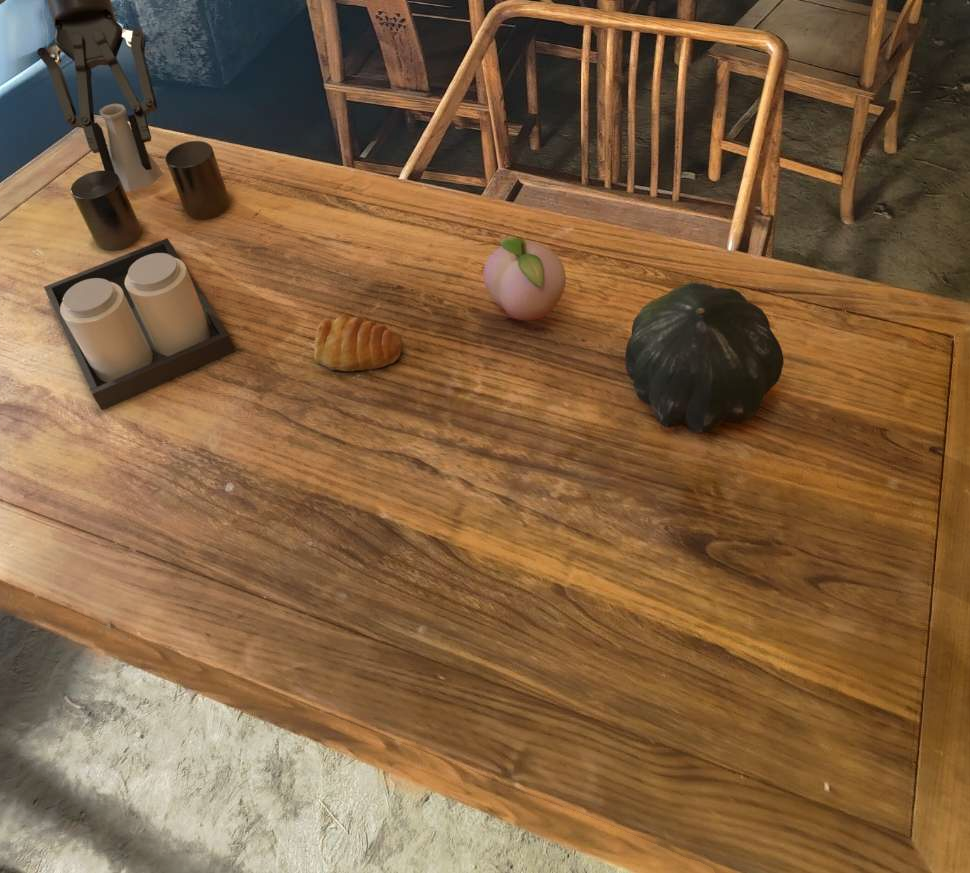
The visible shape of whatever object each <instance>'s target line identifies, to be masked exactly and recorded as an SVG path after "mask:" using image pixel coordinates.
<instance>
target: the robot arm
mask: <svg viewBox="0 0 970 873" xmlns="http://www.w3.org/2000/svg"><path fill="white" fill-rule="evenodd" d="M6 1H7V0H0V5H2V4H3V3H5V2H6ZM46 1H47V4H48V8H49V11H50V15H51V18H52V21H53V25H54V28H55V36H54V43H52V44H51V45H49V46H48V47H46V48H45V47H39V48H38V49H37V51H36V53H37V55H38V57H39V58H40V59H41V61H42V62H43V63H44V65H46V67H47V70H48V73H49V77H50V80H51V82H52V85H53V88H54V92H55V95H56V97H57V100H58V103H59V107H60V109H61V112H62V115H63V117H64V118H63V119H64V120H65V121H66V123H67V124H68V125H69V126H70V127H72V128H74V129H76V128H81V129H83V133H84V135H85V138H86V142H87V145H88V146H87V147H88V148H89V149H90V151H91V152H92V153H93V154H98V153H99V156H100V160H101V163H102V166H103V170H106V171H112V172H114V173H115V171H114V168H113V164H112V161H111V158H110V154H109V151H108V143H107V141H106V137H105V134H104V130H103V128H102V127H101V125H100V124H99V123H98V122H96V121H95V111H94V110H95V109H94V98H93V86H92V69H94V68H96V67H98V66H108V67H109V69H110V71H111V73H112V75H113V77H114V78H115V80H116V83H117V84H118V86H119V88H120V90H121V92H122V94H123V96H124V98H125V100H126V101H127V103H128V105H129V107H130V109H131V111H132V113H133V114H129V115H127V120H128V123H129V126H130V128H131V130H132V132H133V136H134V139H135V143H136V146H137V149H138V153H139V156H140V160H141V163H142V166H143V167H144V168H145V169H146V170H150V169H152V168H151V164H150V161H149V157H148V154H147V152H148V150H147V146H146V145H145V143H149V142H152V134H151V131H150V127H149V124H148V120H147V116H148V114H150V113H151V112H155V111H157V109H158V103H157V100H156V96H155V91H154V88H153V83H152V80H151V76H150V72H149V67H148V64H147V59H146V55H145V51H146V37H145V35H144V34H143V31H142V30H141V29H140V28H134V29H133V30H131V29H130V30H129V29H124V28H122V26H121V25H120V23H119V22H118V21H117V19H116V15H115V12H114V8H113V5H112V1H111V0H46ZM123 40H124V41H125V43H126V45H127V47H128V48H129V49H130V50H131V55H132V58H133V63H134V66H135V70H136V74H137V79H138V82H139V86H140V90H141V94H142V98H143V100H142V101H139V99H138V97H137V95H136V93H135V92H134V89H133V87H132V85H131V84H130V81H129V80H128V78H127V76H126V74H125V72H124V70H123V68H122V66H121V65H120V64H121V63H120V62H119V60H118V58H117V56H118V54H119V52H120V48H121V46H122V43H123ZM61 53H63V54H65V55H66V56H67V57H68V58H69V59H70V60H72V61H73V62H74V69H75V72H76V84H77V97H78V108H79V109H78V110H79V114H77V111H76V108H75V105H74V102H73V100H72V96H71V94H70V90H69V88H68V87H69V86H68V85H67V81H66V78H65V76H64V73H63V69H61V66H60V64H61V63H62V57H61Z"/></svg>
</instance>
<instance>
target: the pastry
mask: <svg viewBox="0 0 970 873" xmlns="http://www.w3.org/2000/svg"><path fill="white" fill-rule="evenodd" d="M315 335H316V336H315V339H314V347H313V348H314V350H313V352H314V361H315V362H316V363H318V364H320V365H322V366H324V367H326V368H327V369H329V370H331V371H334V370H337V371H341V372H354V371H364V370H365V371H366V370H369V371H370V370H376V369H380V368H384V367H386V366H388V365H392V364H394V363H395V362H397V360H398V359H399V358H400V356H401V353H402V342H403V341H402V338H401V337H400V336H399V335H398V333H396V332H394V331H393V330H390V329H389V328H388V327H387V326H386V325H380V324H378V323H376V322H375V321H374V320H366V319H364V318H362V317H359V316H355V317H353V318H350V316H348V315H343V314H342V315H339V316H338V317H337V318H336V319H330V318H327V317H325V318H324V319H322V320H321V322H320V323H319V325H318V327H317V329H316V334H315Z"/></svg>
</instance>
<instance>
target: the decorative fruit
mask: <svg viewBox="0 0 970 873" xmlns="http://www.w3.org/2000/svg"><path fill="white" fill-rule="evenodd" d="M499 243H500V247H498V248H497V249H496V250H494V252H492V253H491V255H490V256H489V257H488V259H487V260H486V263H485V264H484V267H483V272H482V278H483V283H484V286H485V288H486V289H487V291H488V293H489V295H490V297H491V298H492V300H493V301H494V303H496V304H497V305H498V306H499V307H500V308H501V309H503V310H504V311H505V312H506V314H508V315H509V316H510V317H512V318H514V319H517V320H520V321H527V322H530V321H536V320H539V319H542V318H544V317H546V316H547V315H549V314H550V313H551V312H552V311H553V310H554V308H556V306H557V304H558V303H559V301H560V300H561V298H562V296H563V293H564V290H565V287H566V281H567V280H566V279H567V277H566V276H567V275H566V270H565V267H564V264H563V262H562V261H561V259H560V257H559V256H558V255H557V254H556V253H555V252H554V251H553V250H551V248H549V247H548V246H546V245H545V244H542V243H540V242H537V241H533V240H524V239H523V238H519V237H517V236H507V237H503V238H502V239H500V241H499Z"/></svg>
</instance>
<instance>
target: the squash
mask: <svg viewBox="0 0 970 873" xmlns="http://www.w3.org/2000/svg"><path fill="white" fill-rule="evenodd" d="M784 361H785V360H784V353H783V349H782V347H781V344H780V342H779V341H778V338H777V337H776V335H775V334H774V333H773V331H772V329H771V324H770V321H769V318H768V317H767V315H766V313H765V311H763V309H762V308H760V307H758V305H756V304H754V303H752V302H749V301H748V300H747V298H746V297H745V296H744V295H743V294H742V293H741V291H739V290H736V289H734V288H729V287H728V288H724V287H714V286H712V285H710V284H706V283H699V282H687V283H683V284H682V285H680V286H678V287H675V288H673V289H671V290H670V291H669V292H668V293H667V294H664V295H661V296H659V297H657V298H655V299H653V300H651V301H648V302H647V303H646V304H645V305H643V307H642V308H641V309H640V310H639V312H638V313H637V315H636V316H635V317H634V320H633V323H632V327H631V335H630V337H629V338H628V342H627V344H626V348H625V355H624V363H625V364H624V365H625V371H626V373H627V375H628V377H629V378H630V380H631V381H633V382H632V383H633V389H634V392H635V394H636V397H637V398H638V399H639V401H641V402H643V403H644V404H646V405H650V406H651V410H652V412H653V413H654V416H655V419H656V420H657V422H658V423H659V424H660V425H661V426H662V427H664V428H668V429H670V428H677V427H679V426H682V425H683V424H685V425H686V426H687V428H688V429H690V430H691V431H692V432H693V433H695V434H699V435H701V434H702V435H703V434H707V433H710V432H712V431H714V430H715V429H716V428H717V427H720V425H721V424H722V423H727V424H732V425H733V424H740V423H743V422H746V421H748V420H750V419H752V418H753V417H754V416H755V415H757V413H758V411H759V410H760V408H761V405H762V402H763V399H764V397H765V395H767V393H768V392H770V390H771V389H773V387H775V386H776V384H777V383H778V381H779V379H780V377H781V374H782V371H783V367H784Z"/></svg>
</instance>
